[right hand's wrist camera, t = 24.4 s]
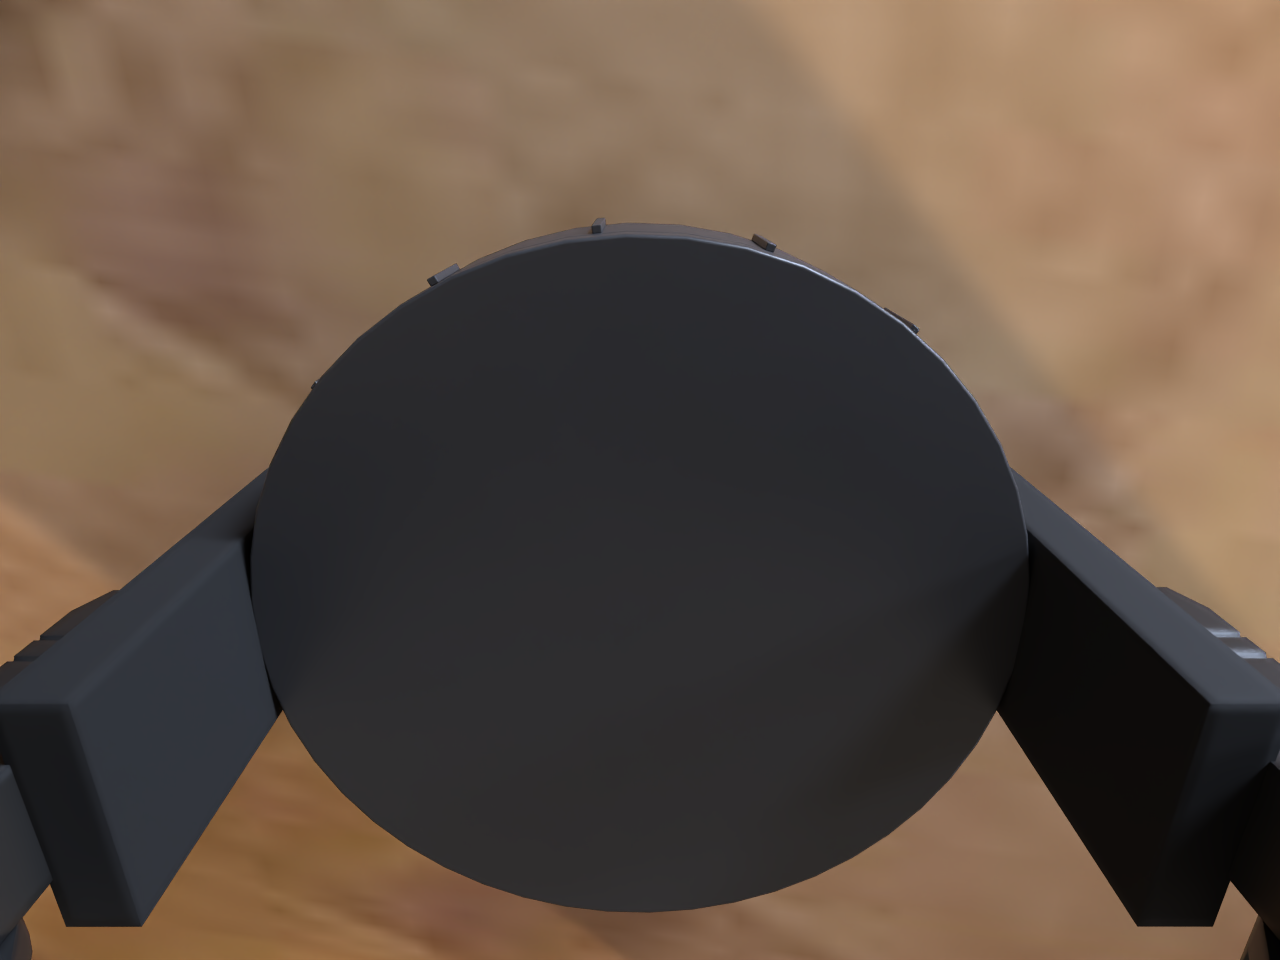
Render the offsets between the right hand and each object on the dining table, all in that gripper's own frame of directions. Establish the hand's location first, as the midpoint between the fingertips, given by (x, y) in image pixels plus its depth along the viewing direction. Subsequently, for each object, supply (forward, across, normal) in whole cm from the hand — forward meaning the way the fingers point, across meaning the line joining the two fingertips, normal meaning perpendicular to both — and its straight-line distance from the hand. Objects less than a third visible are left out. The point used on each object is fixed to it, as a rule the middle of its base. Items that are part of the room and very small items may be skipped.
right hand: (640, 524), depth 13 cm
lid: (-3, 0, 0) cm, 3 cm away
